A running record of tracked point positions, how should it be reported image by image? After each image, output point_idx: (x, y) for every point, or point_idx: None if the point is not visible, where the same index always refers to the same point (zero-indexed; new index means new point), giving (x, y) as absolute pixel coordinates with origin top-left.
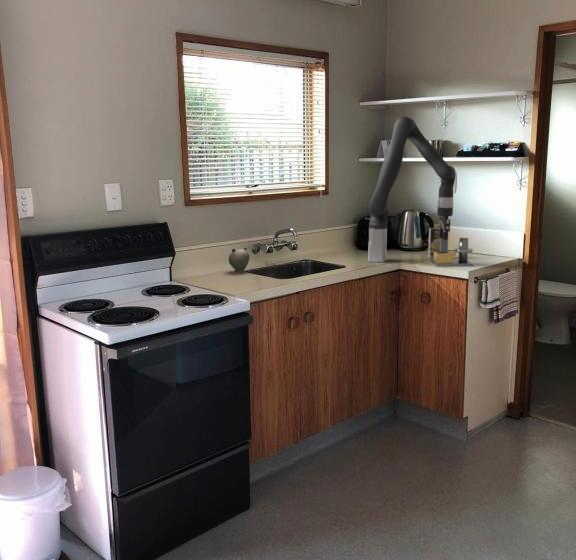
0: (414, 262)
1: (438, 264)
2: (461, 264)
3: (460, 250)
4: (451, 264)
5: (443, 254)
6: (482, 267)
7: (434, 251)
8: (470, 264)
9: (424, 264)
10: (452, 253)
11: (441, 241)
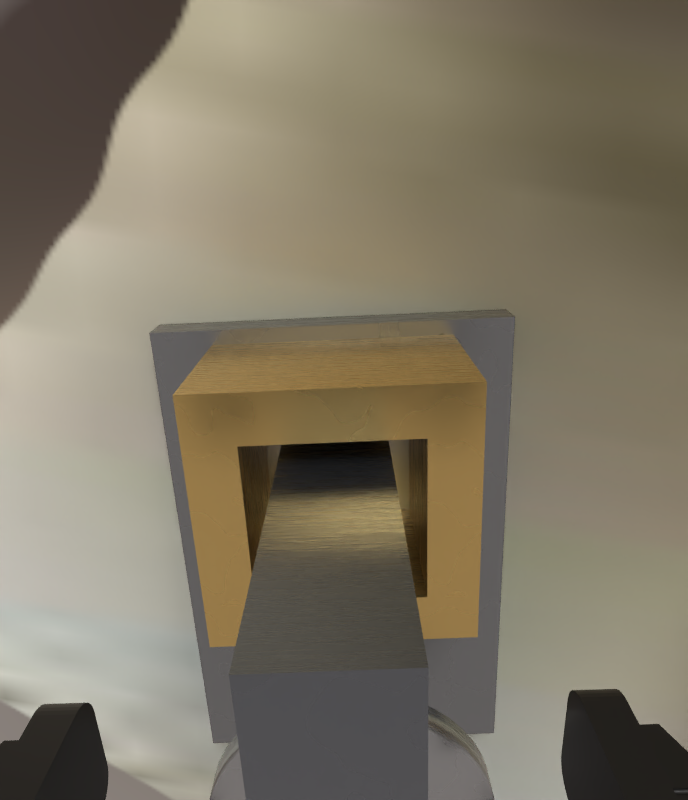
0: (545, 19)
1: (154, 354)
2: (198, 627)
3: (237, 774)
4: (179, 520)
5: (191, 492)
6: (141, 778)
7: (438, 386)
8: (210, 711)
9: (338, 168)
10: (209, 633)
11: (242, 621)
